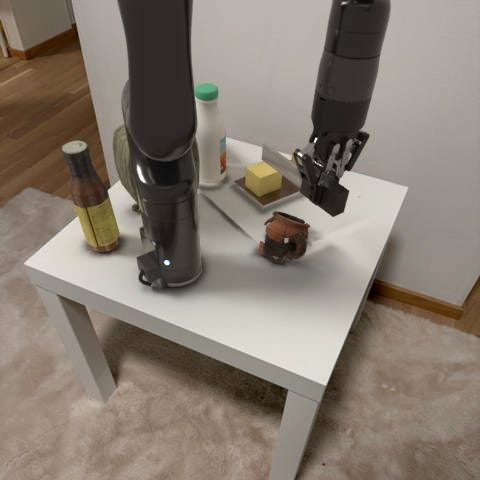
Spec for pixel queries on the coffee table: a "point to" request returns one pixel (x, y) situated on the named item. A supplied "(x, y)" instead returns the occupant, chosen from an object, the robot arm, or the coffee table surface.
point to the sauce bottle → (91, 199)
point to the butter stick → (262, 179)
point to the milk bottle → (210, 134)
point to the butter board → (285, 191)
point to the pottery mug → (278, 231)
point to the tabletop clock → (125, 165)
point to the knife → (332, 193)
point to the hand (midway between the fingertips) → (321, 199)
